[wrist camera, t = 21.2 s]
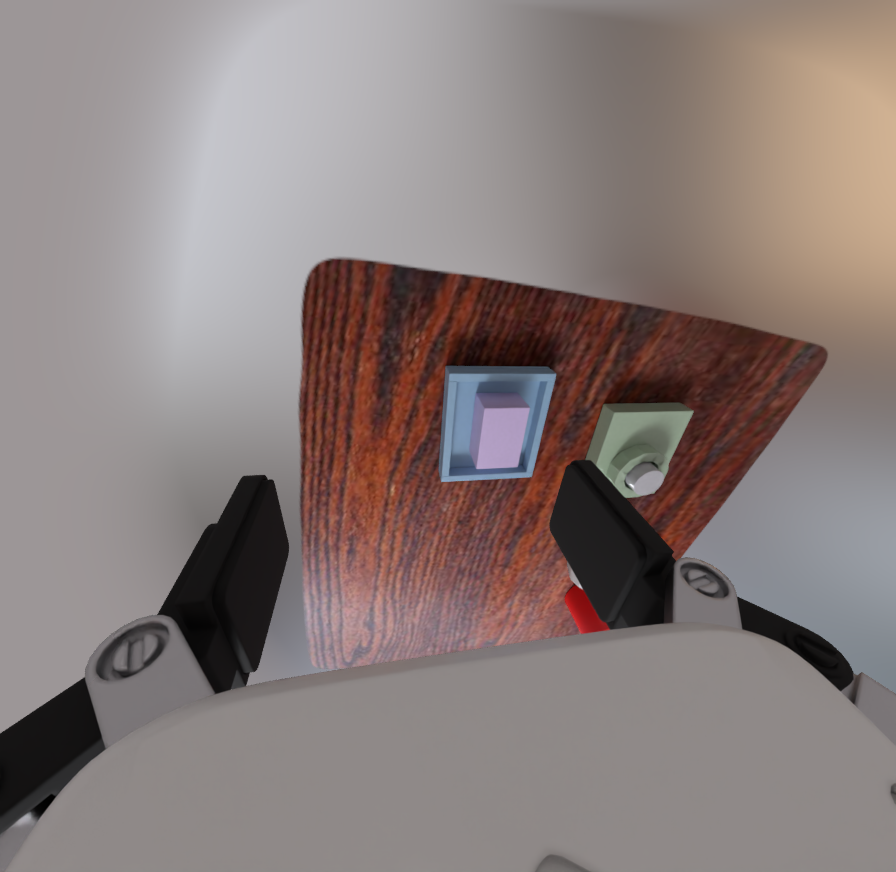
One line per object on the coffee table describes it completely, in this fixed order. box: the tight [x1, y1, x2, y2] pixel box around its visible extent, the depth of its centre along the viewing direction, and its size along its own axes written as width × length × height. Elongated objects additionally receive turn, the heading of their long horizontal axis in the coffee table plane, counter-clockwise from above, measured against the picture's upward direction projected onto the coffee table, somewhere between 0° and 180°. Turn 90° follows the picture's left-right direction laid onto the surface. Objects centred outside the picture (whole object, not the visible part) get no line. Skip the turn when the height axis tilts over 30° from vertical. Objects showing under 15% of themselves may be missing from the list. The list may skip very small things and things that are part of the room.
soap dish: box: [439, 366, 556, 482], centre depth 37 cm, size 13×11×2 cm
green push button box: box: [585, 403, 694, 498], centre depth 41 cm, size 12×10×4 cm
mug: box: [565, 585, 610, 634], centre depth 55 cm, size 8×12×8 cm, turn 133°
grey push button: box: [625, 462, 664, 495], centre depth 40 cm, size 4×4×2 cm
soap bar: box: [469, 393, 530, 469], centre depth 36 cm, size 7×4×4 cm, turn 176°
